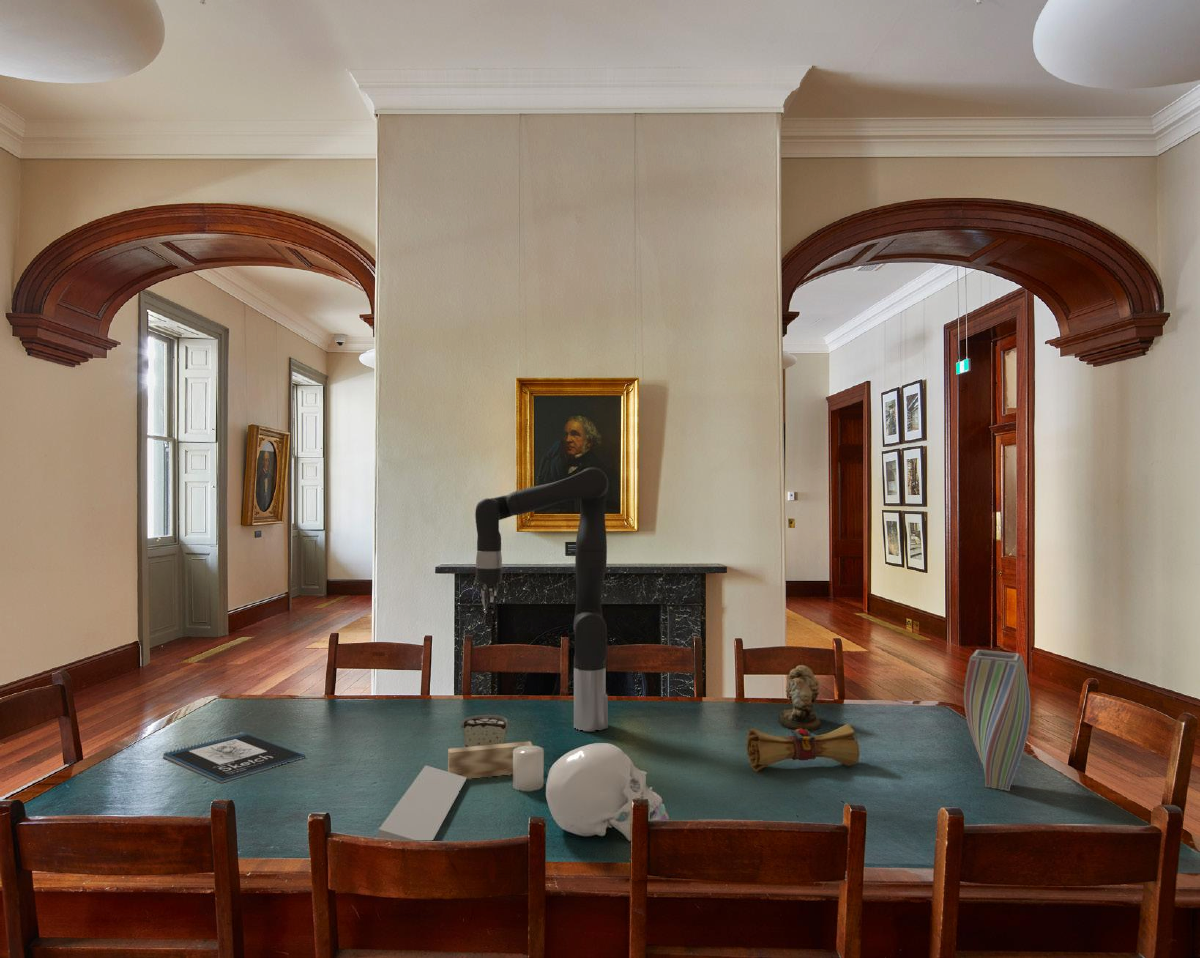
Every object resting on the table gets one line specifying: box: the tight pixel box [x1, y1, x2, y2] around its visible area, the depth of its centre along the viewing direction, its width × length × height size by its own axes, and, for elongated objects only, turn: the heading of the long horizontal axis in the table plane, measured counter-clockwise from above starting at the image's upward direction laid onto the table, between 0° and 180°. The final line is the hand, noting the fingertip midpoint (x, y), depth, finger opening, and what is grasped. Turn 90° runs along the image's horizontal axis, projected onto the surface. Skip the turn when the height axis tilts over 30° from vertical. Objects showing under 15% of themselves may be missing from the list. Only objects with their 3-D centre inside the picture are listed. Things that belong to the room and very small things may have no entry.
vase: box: [963, 649, 1032, 792], centre depth 174 cm, size 14×14×30 cm
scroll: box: [746, 723, 860, 773], centre depth 186 cm, size 27×10×10 cm, turn 99°
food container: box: [460, 714, 510, 747], centre depth 192 cm, size 12×6×10 cm, turn 86°
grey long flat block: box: [376, 764, 467, 841], centre depth 156 cm, size 34×5×10 cm
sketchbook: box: [162, 731, 307, 784], centre depth 191 cm, size 22×30×2 cm
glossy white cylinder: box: [512, 745, 545, 792], centre depth 173 cm, size 7×7×8 cm
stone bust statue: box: [778, 664, 821, 732], centre depth 223 cm, size 18×12×17 cm, turn 175°
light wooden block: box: [447, 740, 534, 780], centre depth 180 cm, size 20×5×6 cm, turn 107°
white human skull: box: [545, 742, 670, 842], centre depth 149 cm, size 16×20×22 cm
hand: (488, 625), depth 220 cm, fingers closed
